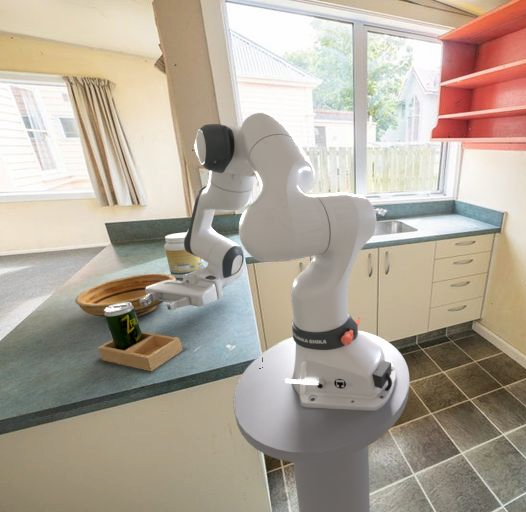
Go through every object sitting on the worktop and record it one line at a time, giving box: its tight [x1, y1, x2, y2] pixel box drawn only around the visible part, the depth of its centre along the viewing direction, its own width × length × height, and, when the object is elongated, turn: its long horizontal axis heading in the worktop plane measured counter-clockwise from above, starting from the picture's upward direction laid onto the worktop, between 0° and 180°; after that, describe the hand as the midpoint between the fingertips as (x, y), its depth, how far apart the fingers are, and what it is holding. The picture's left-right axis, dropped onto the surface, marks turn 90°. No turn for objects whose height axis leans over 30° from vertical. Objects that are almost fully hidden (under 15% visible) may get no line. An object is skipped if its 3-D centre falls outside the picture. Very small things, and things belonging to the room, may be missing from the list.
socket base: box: [97, 330, 183, 372], centre depth 73 cm, size 15×8×4 cm, turn 75°
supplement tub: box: [163, 231, 205, 279], centre depth 123 cm, size 12×12×17 cm
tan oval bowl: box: [74, 273, 177, 318], centre depth 94 cm, size 30×24×8 cm
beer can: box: [104, 302, 143, 350], centre depth 72 cm, size 5×5×12 cm
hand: (155, 305), depth 79 cm, fingers open, 8 cm apart
